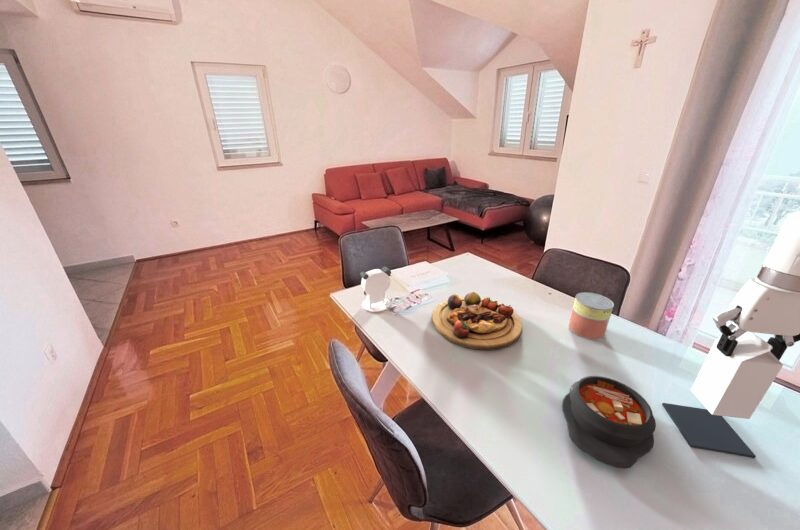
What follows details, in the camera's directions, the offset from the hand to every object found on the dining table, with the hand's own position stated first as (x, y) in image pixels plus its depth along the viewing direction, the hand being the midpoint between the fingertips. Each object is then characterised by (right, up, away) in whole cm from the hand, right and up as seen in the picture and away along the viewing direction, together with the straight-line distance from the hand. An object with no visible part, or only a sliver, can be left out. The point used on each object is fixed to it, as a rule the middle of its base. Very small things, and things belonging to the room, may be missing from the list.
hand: (745, 354), depth 65 cm
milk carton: (0, -13, +6) cm, 14 cm away
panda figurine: (-81, +3, +61) cm, 102 cm away
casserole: (-23, -20, +10) cm, 32 cm away
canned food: (-7, -4, +45) cm, 46 cm away
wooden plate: (-45, -3, +49) cm, 66 cm away
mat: (0, -20, +9) cm, 22 cm away
